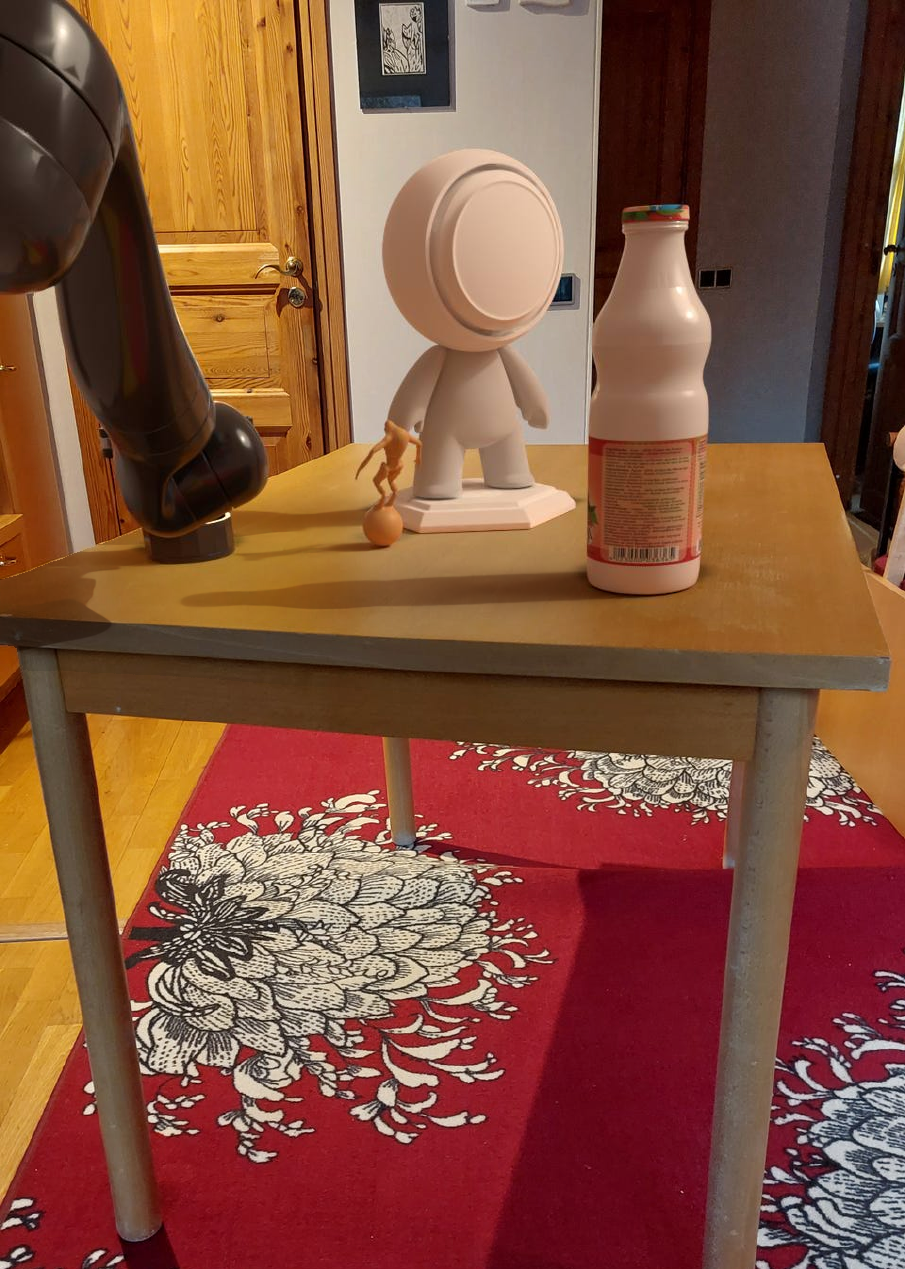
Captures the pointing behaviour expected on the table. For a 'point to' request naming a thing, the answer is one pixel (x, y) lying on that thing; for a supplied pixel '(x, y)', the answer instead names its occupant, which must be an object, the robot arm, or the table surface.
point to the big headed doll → (473, 337)
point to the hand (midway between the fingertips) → (174, 427)
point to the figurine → (382, 518)
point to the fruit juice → (648, 414)
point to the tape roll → (193, 543)
